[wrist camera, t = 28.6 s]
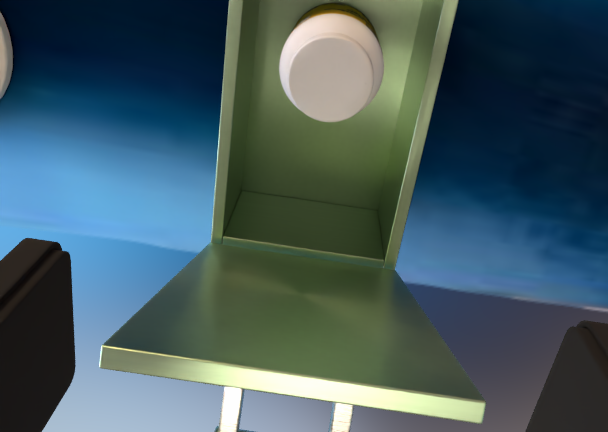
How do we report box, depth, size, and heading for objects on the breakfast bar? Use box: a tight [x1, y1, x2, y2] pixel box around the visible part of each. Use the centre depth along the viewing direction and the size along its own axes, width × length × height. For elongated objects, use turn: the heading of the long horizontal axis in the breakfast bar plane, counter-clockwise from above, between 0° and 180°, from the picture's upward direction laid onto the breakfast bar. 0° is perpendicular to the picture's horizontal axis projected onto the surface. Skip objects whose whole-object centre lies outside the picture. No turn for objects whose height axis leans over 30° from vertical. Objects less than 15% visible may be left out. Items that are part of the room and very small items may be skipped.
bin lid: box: [99, 243, 486, 432], centre depth 29 cm, size 20×13×5 cm
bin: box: [211, 0, 459, 270], centre depth 39 cm, size 20×13×9 cm, turn 172°
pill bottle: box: [279, 2, 384, 122], centre depth 36 cm, size 6×6×11 cm
